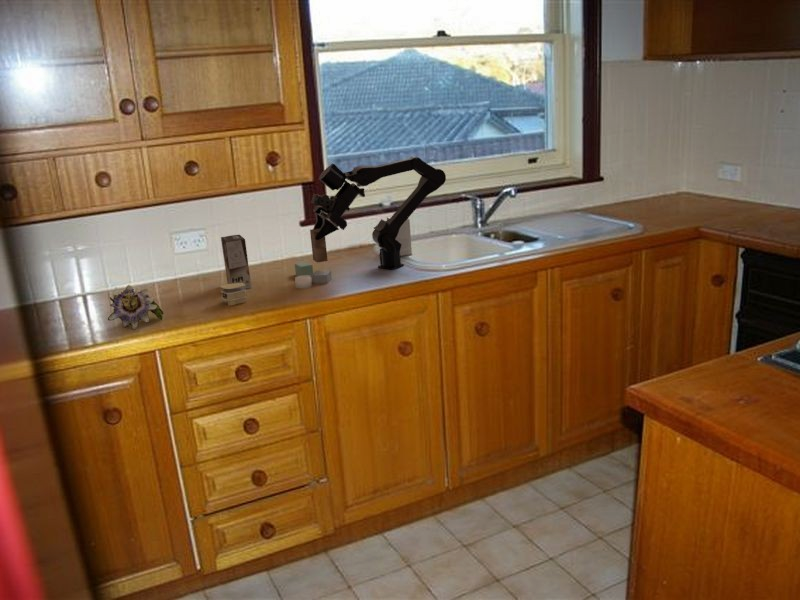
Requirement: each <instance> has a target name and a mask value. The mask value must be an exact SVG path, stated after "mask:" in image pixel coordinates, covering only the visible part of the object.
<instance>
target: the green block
mask: <svg viewBox="0 0 800 600" xmlns="http://www.w3.org/2000/svg"><path fill="white" fill-rule="evenodd" d="M294 270H295V276H296V277H297V276H301V275H310V276H311V277H312V275H313V274H314V268H313V264H311V263H310V262H308V261H300V262H294Z"/></svg>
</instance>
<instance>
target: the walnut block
mask: <svg viewBox="0 0 800 600" xmlns="http://www.w3.org/2000/svg"><path fill="white" fill-rule="evenodd" d="M319 230H320V228H318V229H313V228H312V229H310V230H309V232H310V233H309V235H310V242H311V252H312V260H313V261H314V262H316V263H323V262H328V251H327V242H326V236H325V237H323V238H321V239H319V240H316V239H315V237H316V235H317V233H318V231H319Z"/></svg>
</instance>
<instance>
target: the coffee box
mask: <svg viewBox="0 0 800 600" xmlns="http://www.w3.org/2000/svg"><path fill="white" fill-rule="evenodd" d="M220 241H221V247H222V254H223V260H224V262H223V263H224V269H225V276H226V281H227V283H226V284H234V283H244V284H245V285H246V286H241V287H244V288H245V289H246V290H247V289H251V288H252V283H251V275H250V268H249V267H250V266H249V257H248V251H247V245H246V244H247V243H246V239H245V237H243V236H242V235H241V234H231V235H227V236H221V237H220Z"/></svg>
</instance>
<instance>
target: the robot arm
mask: <svg viewBox="0 0 800 600" xmlns="http://www.w3.org/2000/svg"><path fill="white" fill-rule="evenodd" d="M409 171H415V172H416V173H417V174H418V175H419V176H420V178H419V181H418V183H417V185H416V187H415V188H414V189H413V191H412V192H411V193H410V194H409V195H408V196H407V198H406V199H405V201H403V203H401V204H400V206H399V208H397V210H395V212H394V213H393V214H392V215H391V216H390V217H391V218H390V219H388V220H387V219H386V220H384V219H383V218H382V219H380V220H379V222H378V223H377V225H376V226H374V227H373V231H372V234H371V235H372V240H373V242H375V243H376V244H377V245H378V247H379V264H380V265H378V266H377V268H379V269H385V270H395V269H398V268H400V267H403V266H405V264H404V263H401V256H400V249H401V244H400V243H399V242H398V241H397V240H396V237H397V235H398V233H399V230H400V227H401V226H402V225H403V224H404V222H405V221H406V220H407V219H408V218H409V219H410V217H411V216H412V214H413V213H414V212H415V211H416V210H417V208H419V206H420V205H421V204H422V202H424V200H426V198H427V197H428V196H429V195H430V194H432V193H434V192H436V191H437V190H438V189H439V188H441V187H442V186H444V184H445V182H446V180H447V177H446V176H447V175H446V173H445V171H444V170H442V169H440V168H436V167H433V166H432V165H430V164H428V163H427V162H425V161H423V160H422V158H420V157H418V156H413V155H412V156H410V157H408V158H407V157H406V158H404V159H400V160H396V161H391V162H386V163H382V164H377V165H358V166H355V167H354V168H353V169H352V170H351V171H350V170H349V171H347V172H346V171H345V172H343V171H342V170H341V169H340V168H339V167H338V166H337V165H336V164H334V163H332V162H331V164H330V165H329V166H327V167H326V168H325V169H323V170H322V172H321V174H319V177H318V180H319V181H320V182H322V184H324V185H325V186H326V187H328V188H329V190H331V191H335V190H336V191H337V192H336V193H335V195H331V196H329V195H327V194H324V193H323V194H321V195H319V194H316V193H313V195H312V198H311V201H310V204H313V205H315V206H314V208H313V209H312V211H313V212H314V216H315V223H314V226H313V228H312V229H318V228H320V230H319V231H318V233H317V235H316V237H315V239H316V240H319V239H321V238H323V237H325V238H326V236H329V235H330V234H332V233H334V232H337V231H338V230H340V229H341V230H343V231H345V229H346V228H347V227H348V222H347V220H346V219H344V218H343V215H344V214H345V213H346V211H347V212H349V211H350V210H351V207H350V206H351V205H352V203H353V202H355V199H356V198H358V195H359V197H362V198H365V197H366V195H365V194H366V193H365V188H363V187H364V186H365V187H367V186H368V185H371V184H373V183H376V182H378V180H380V179H382V178H385V177H390V176H394V175H397V174H402V173H407V172H409ZM348 181H349V182H351V183H349V182H348ZM352 182H353V183H352ZM356 184H357V185H356ZM358 185H359V186H362V187H359V186H358Z"/></svg>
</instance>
